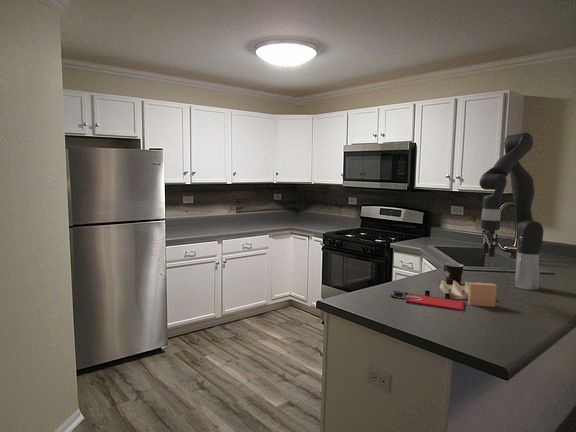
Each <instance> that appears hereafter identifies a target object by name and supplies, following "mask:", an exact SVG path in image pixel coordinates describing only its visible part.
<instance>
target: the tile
mask: <svg viewBox="0 0 576 432" xmlns="http://www.w3.org/2000/svg"><path fill="white" fill-rule="evenodd" d="M468 282H469V281H468ZM496 302H497V285H496V284H495V283H490V282H489V283H486V282H484V283H483V282H480V283H477V282H472V281H471V282H469V292H468V300H467V303H468V304H469V306H481V307H493V308H494V307H496Z"/></svg>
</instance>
